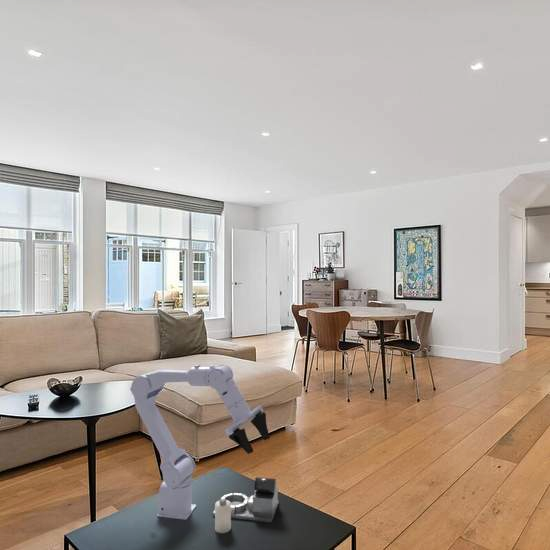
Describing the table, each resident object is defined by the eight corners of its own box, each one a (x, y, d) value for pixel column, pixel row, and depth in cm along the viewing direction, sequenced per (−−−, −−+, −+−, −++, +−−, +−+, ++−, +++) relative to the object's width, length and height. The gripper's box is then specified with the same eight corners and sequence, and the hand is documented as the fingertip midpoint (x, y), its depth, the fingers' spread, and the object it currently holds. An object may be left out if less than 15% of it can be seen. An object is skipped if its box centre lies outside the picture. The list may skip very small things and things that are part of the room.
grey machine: (212, 515, 128) (212, 482, 128) (224, 497, 139) (224, 466, 139) (271, 522, 125) (271, 488, 125) (278, 503, 135) (278, 471, 135)
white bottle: (212, 532, 120) (212, 503, 120) (218, 523, 124) (218, 495, 124) (228, 533, 119) (228, 505, 119) (232, 524, 123) (232, 497, 124)
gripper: (225, 410, 117) (250, 455, 115) (259, 388, 128) (282, 429, 126) (212, 418, 122) (236, 461, 119) (245, 396, 133) (268, 436, 130)
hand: (259, 445), depth 123 cm, fingers open, 7 cm apart
